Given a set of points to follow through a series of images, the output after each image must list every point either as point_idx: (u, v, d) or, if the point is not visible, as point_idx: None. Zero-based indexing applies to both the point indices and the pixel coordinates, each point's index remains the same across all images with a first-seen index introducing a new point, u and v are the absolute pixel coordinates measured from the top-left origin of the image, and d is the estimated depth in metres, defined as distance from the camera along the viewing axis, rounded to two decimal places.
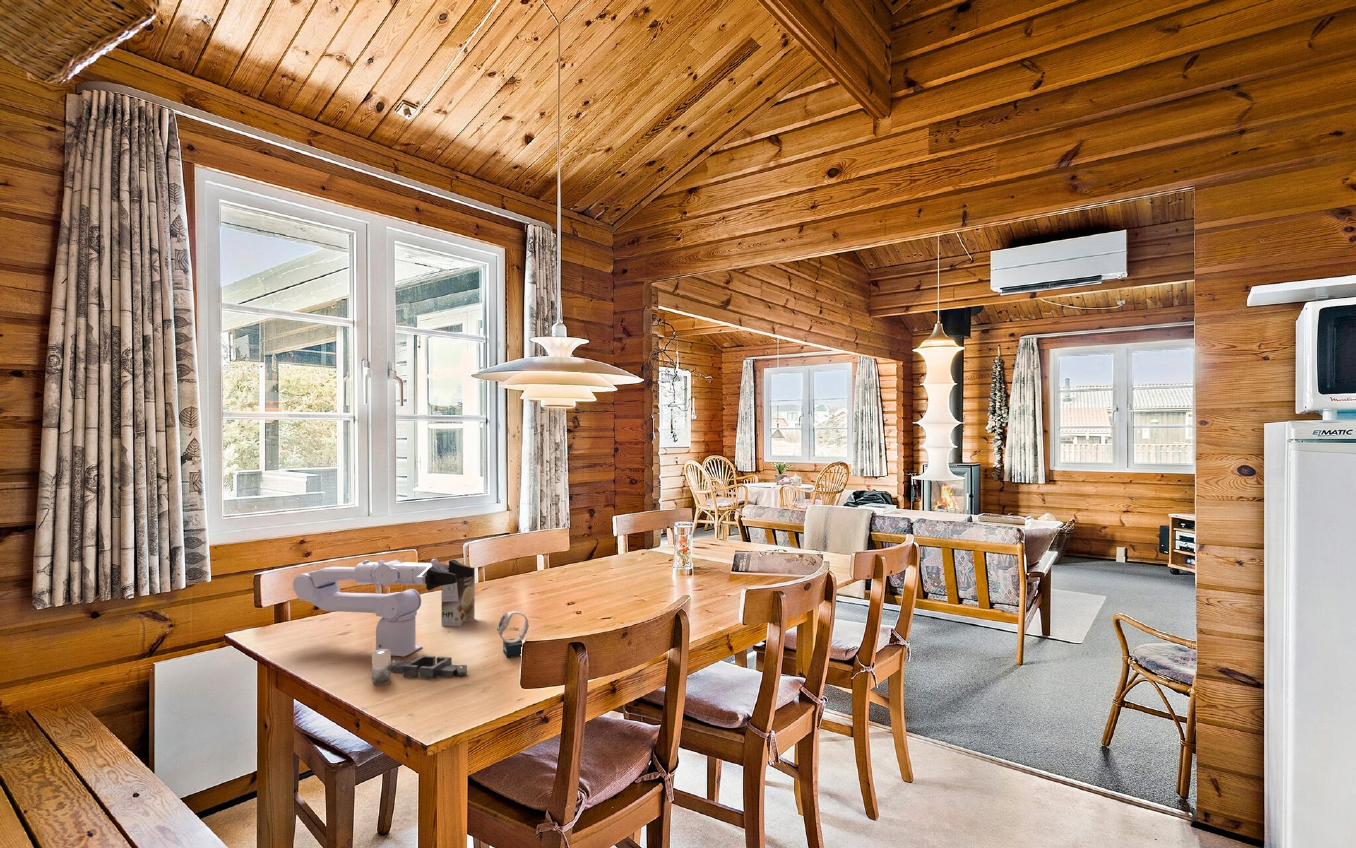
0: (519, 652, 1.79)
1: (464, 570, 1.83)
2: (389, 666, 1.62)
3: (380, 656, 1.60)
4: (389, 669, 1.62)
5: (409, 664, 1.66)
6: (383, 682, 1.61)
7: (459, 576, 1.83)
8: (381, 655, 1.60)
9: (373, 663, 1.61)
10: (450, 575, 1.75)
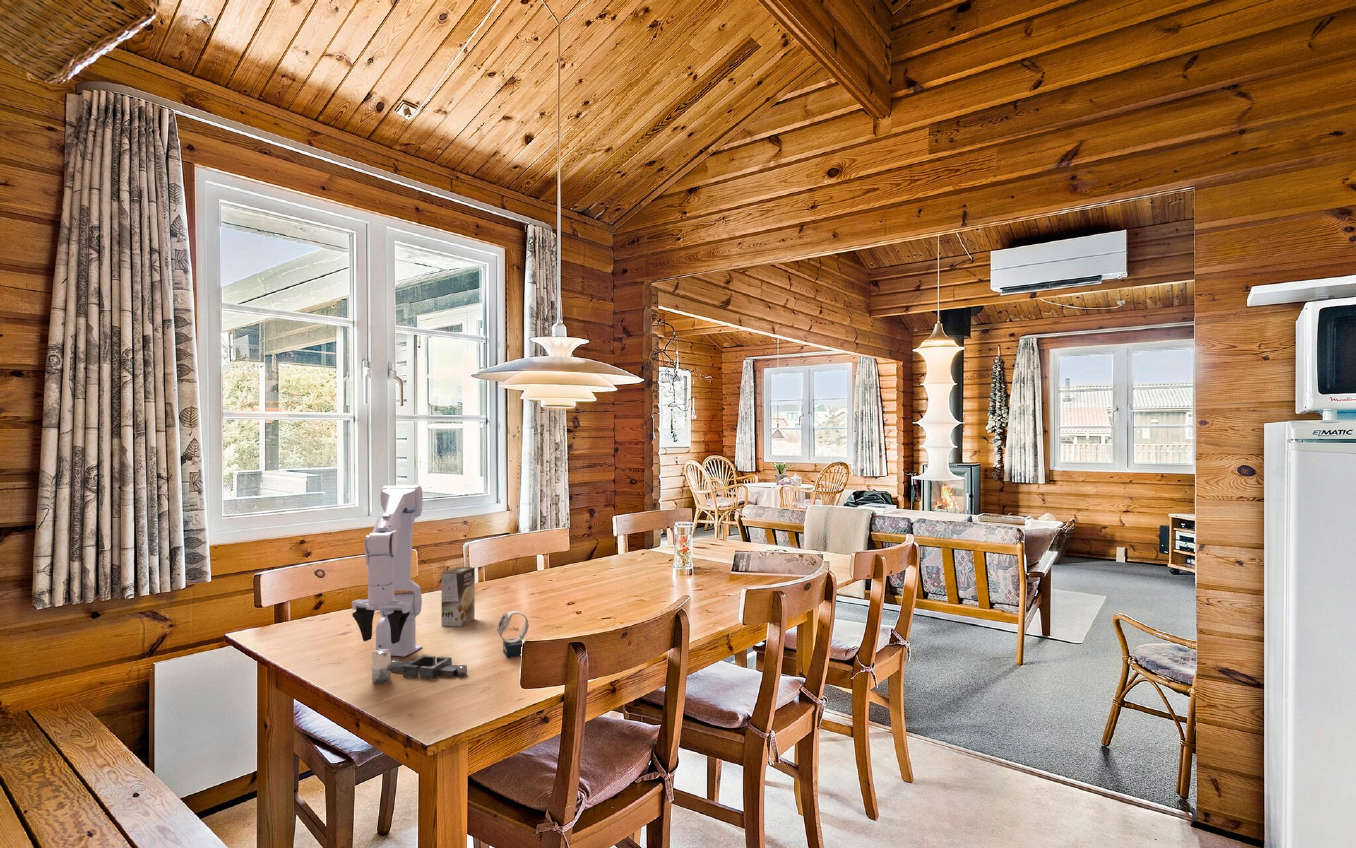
0: (519, 652, 1.79)
1: None
2: (389, 666, 1.62)
3: (380, 656, 1.60)
4: (389, 669, 1.62)
5: (409, 664, 1.66)
6: (383, 682, 1.61)
7: None
8: (381, 655, 1.60)
9: (373, 663, 1.61)
10: None
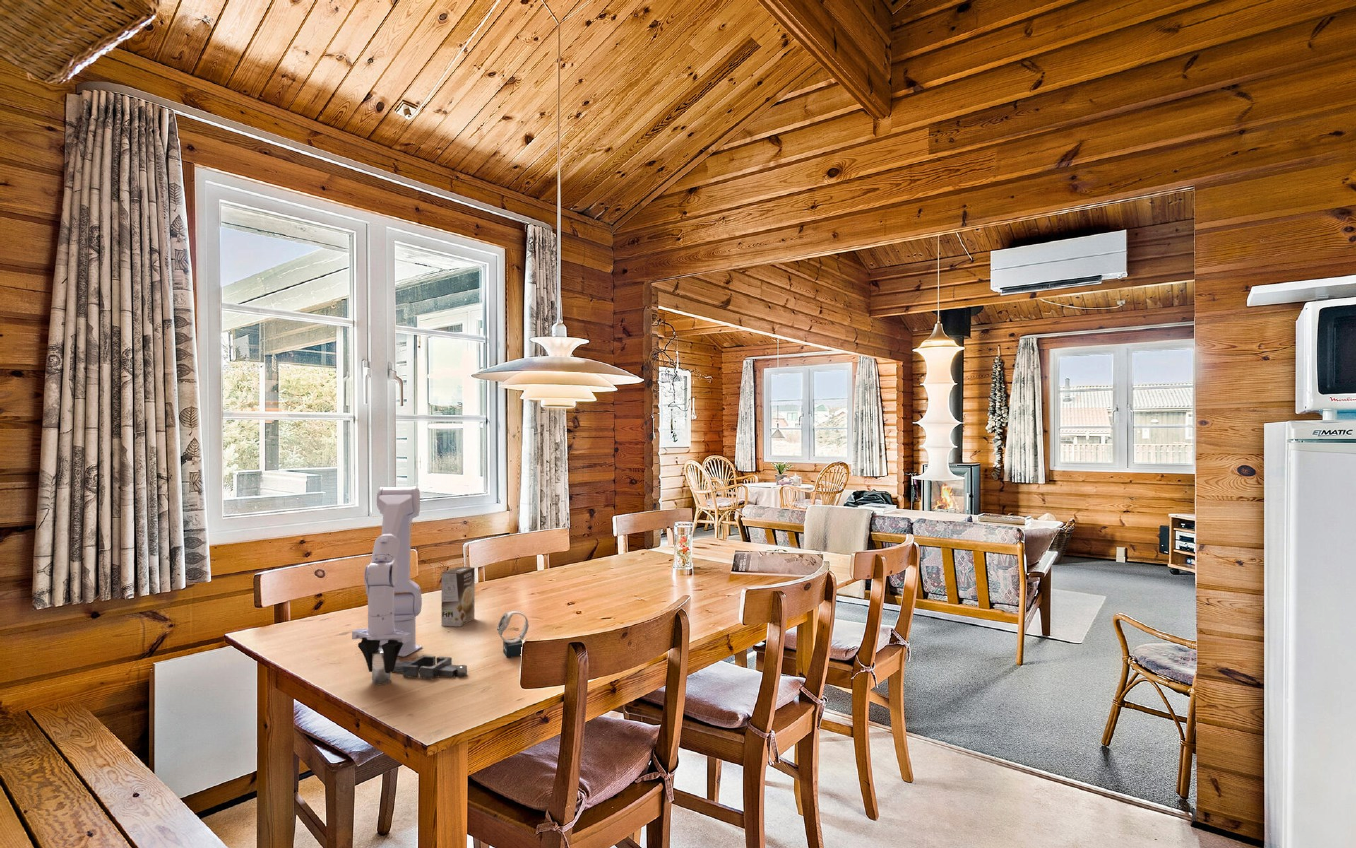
0: (519, 652, 1.79)
1: None
2: None
3: (380, 656, 1.60)
4: None
5: (409, 664, 1.66)
6: (383, 682, 1.61)
7: None
8: (381, 655, 1.60)
9: (373, 663, 1.61)
10: None
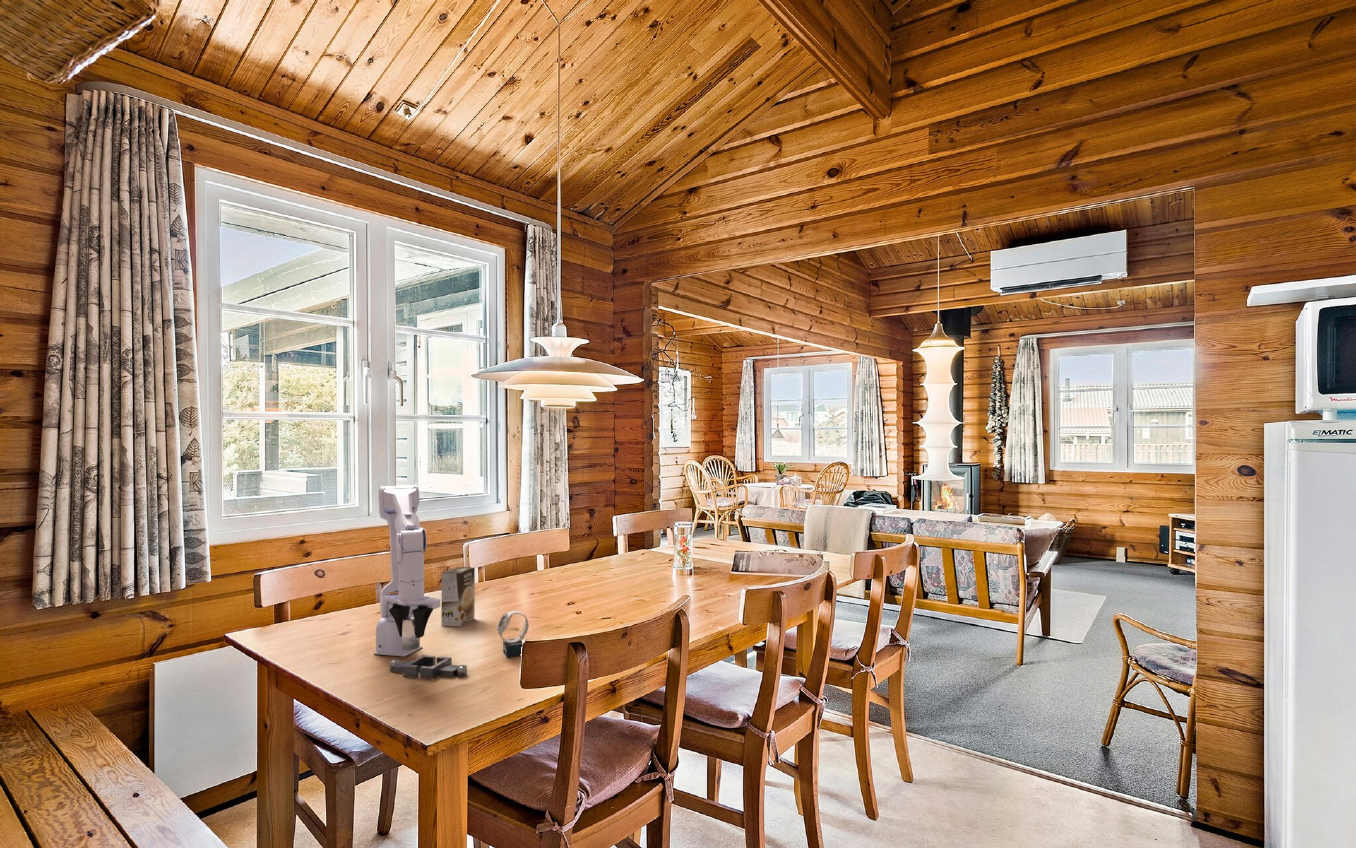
0: (519, 652, 1.79)
1: None
2: None
3: (409, 622, 1.64)
4: None
5: (409, 664, 1.66)
6: (412, 648, 1.64)
7: None
8: (410, 621, 1.64)
9: (403, 629, 1.65)
10: None
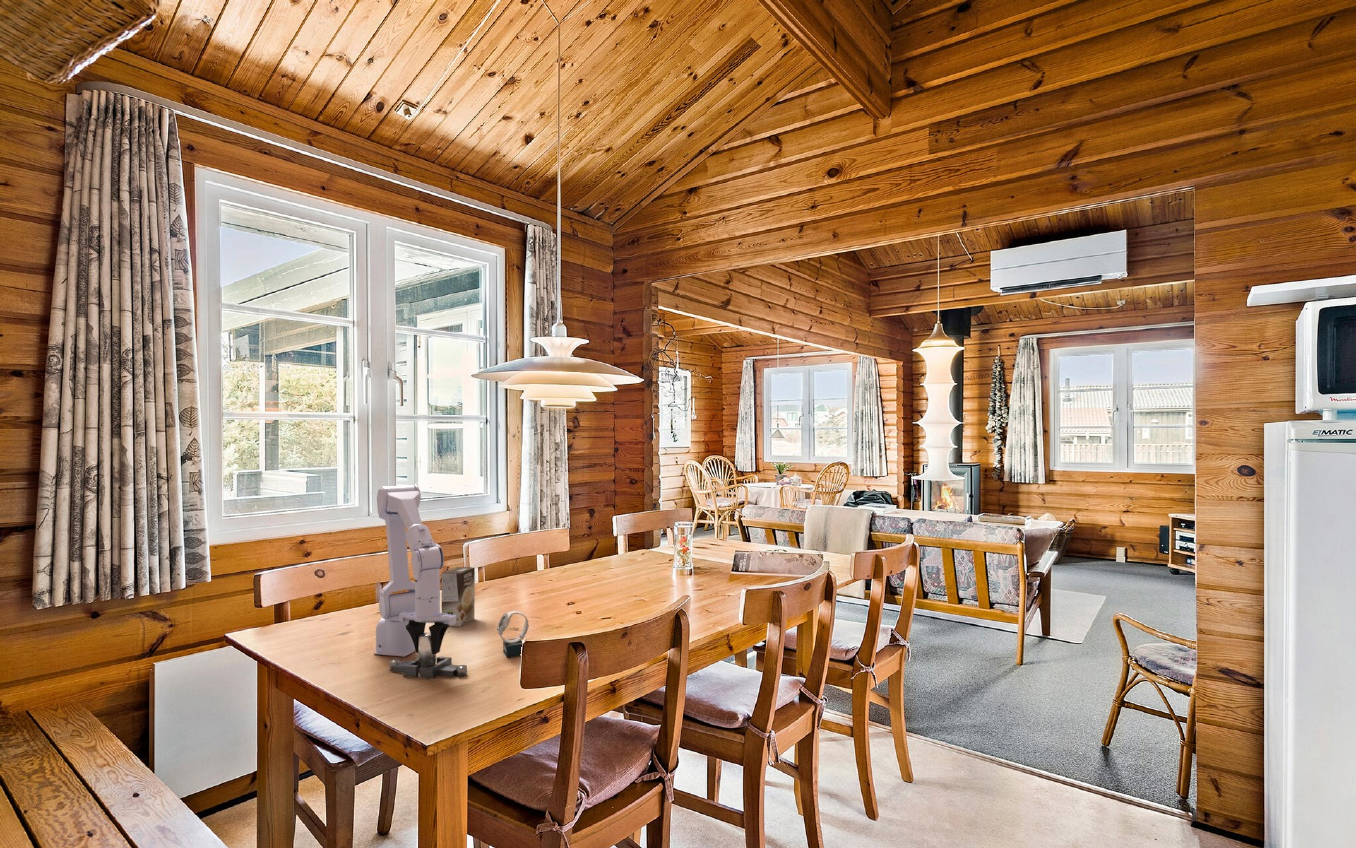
0: (519, 652, 1.79)
1: None
2: None
3: (425, 638, 1.66)
4: None
5: (409, 664, 1.66)
6: (428, 664, 1.66)
7: None
8: (426, 638, 1.66)
9: (419, 645, 1.67)
10: None
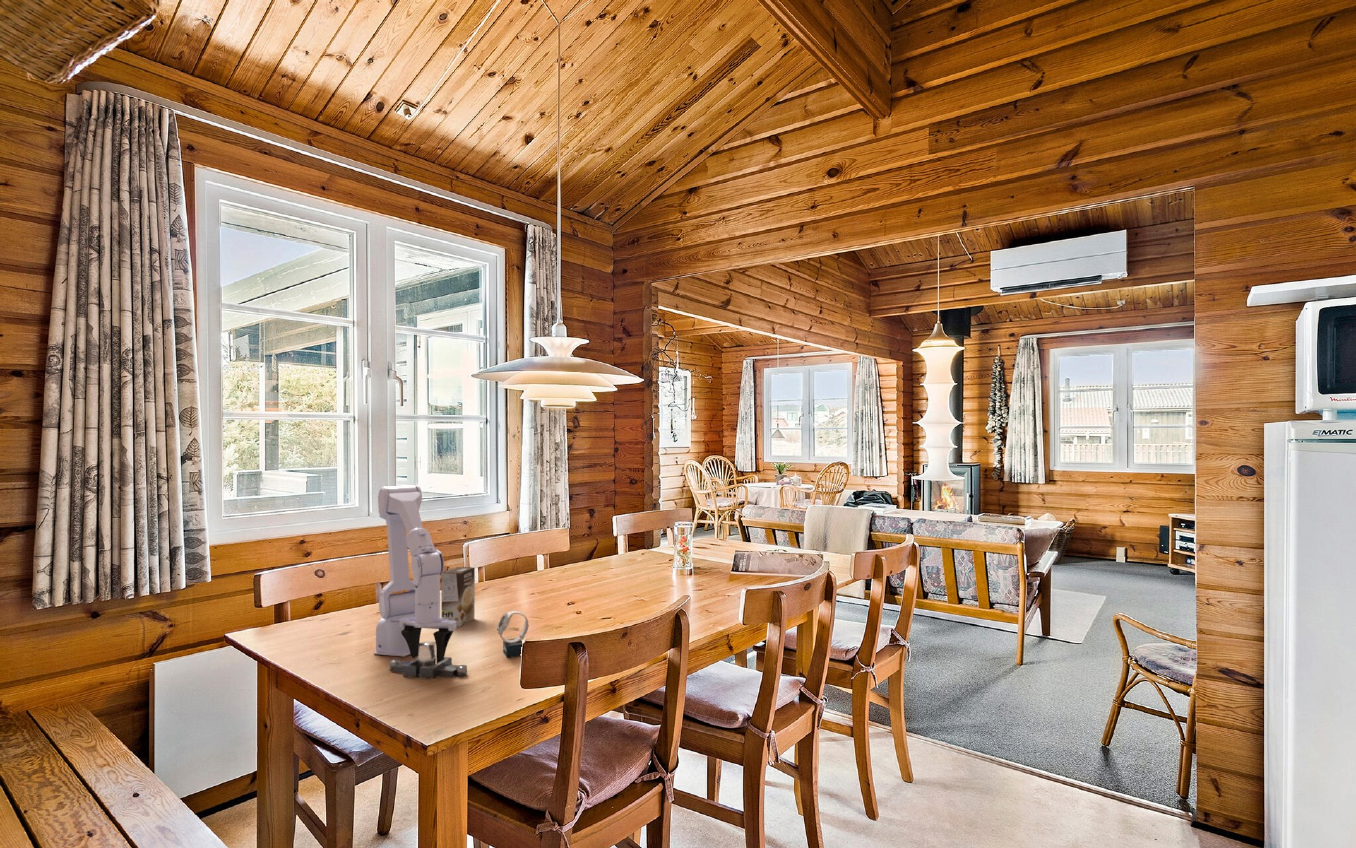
0: (519, 652, 1.79)
1: None
2: (434, 658, 1.68)
3: (425, 647, 1.66)
4: (434, 661, 1.68)
5: (409, 664, 1.66)
6: None
7: None
8: (426, 647, 1.66)
9: (419, 654, 1.67)
10: None
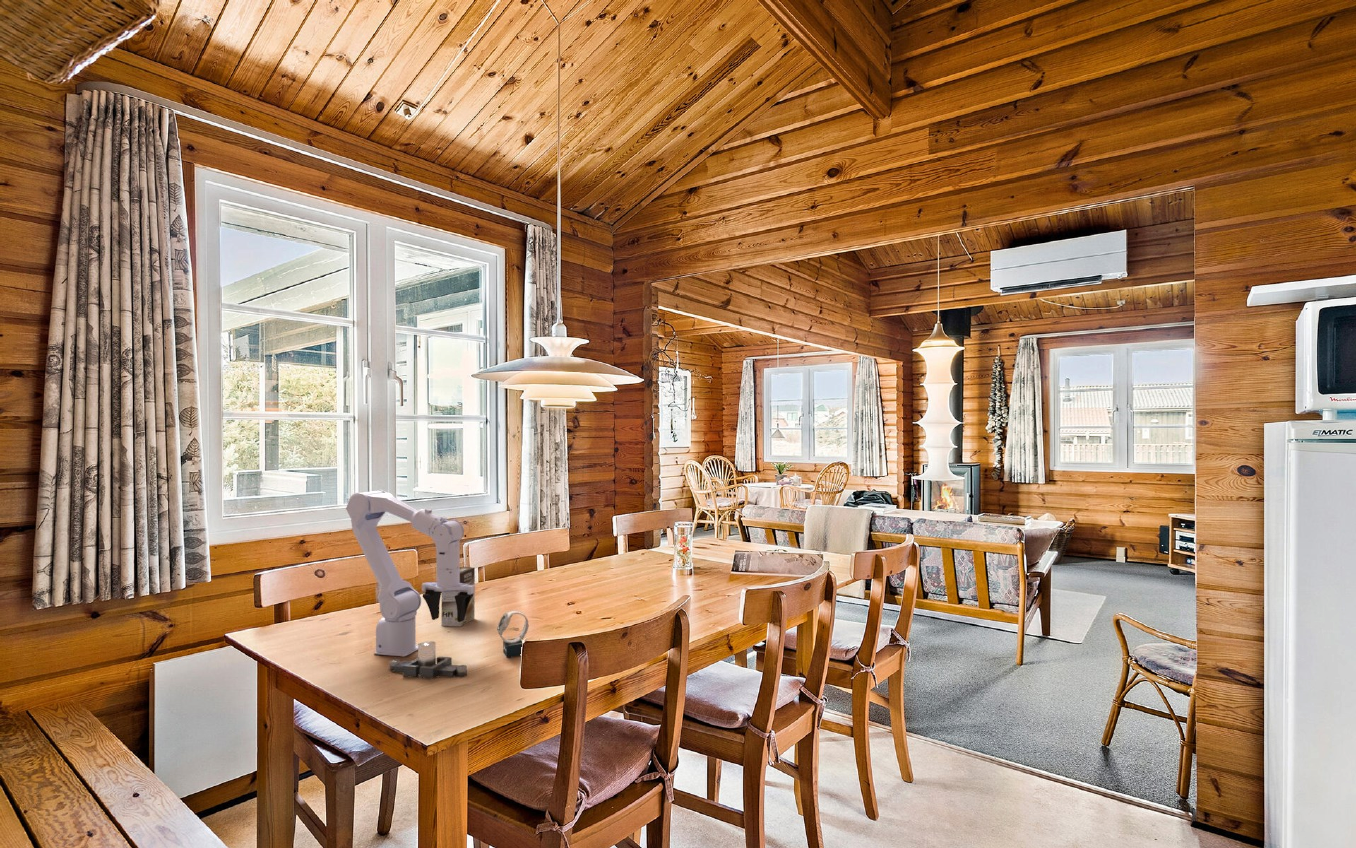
0: (519, 652, 1.79)
1: None
2: (434, 658, 1.68)
3: (425, 647, 1.66)
4: (434, 661, 1.68)
5: (409, 664, 1.66)
6: None
7: None
8: (426, 647, 1.66)
9: (419, 654, 1.67)
10: None
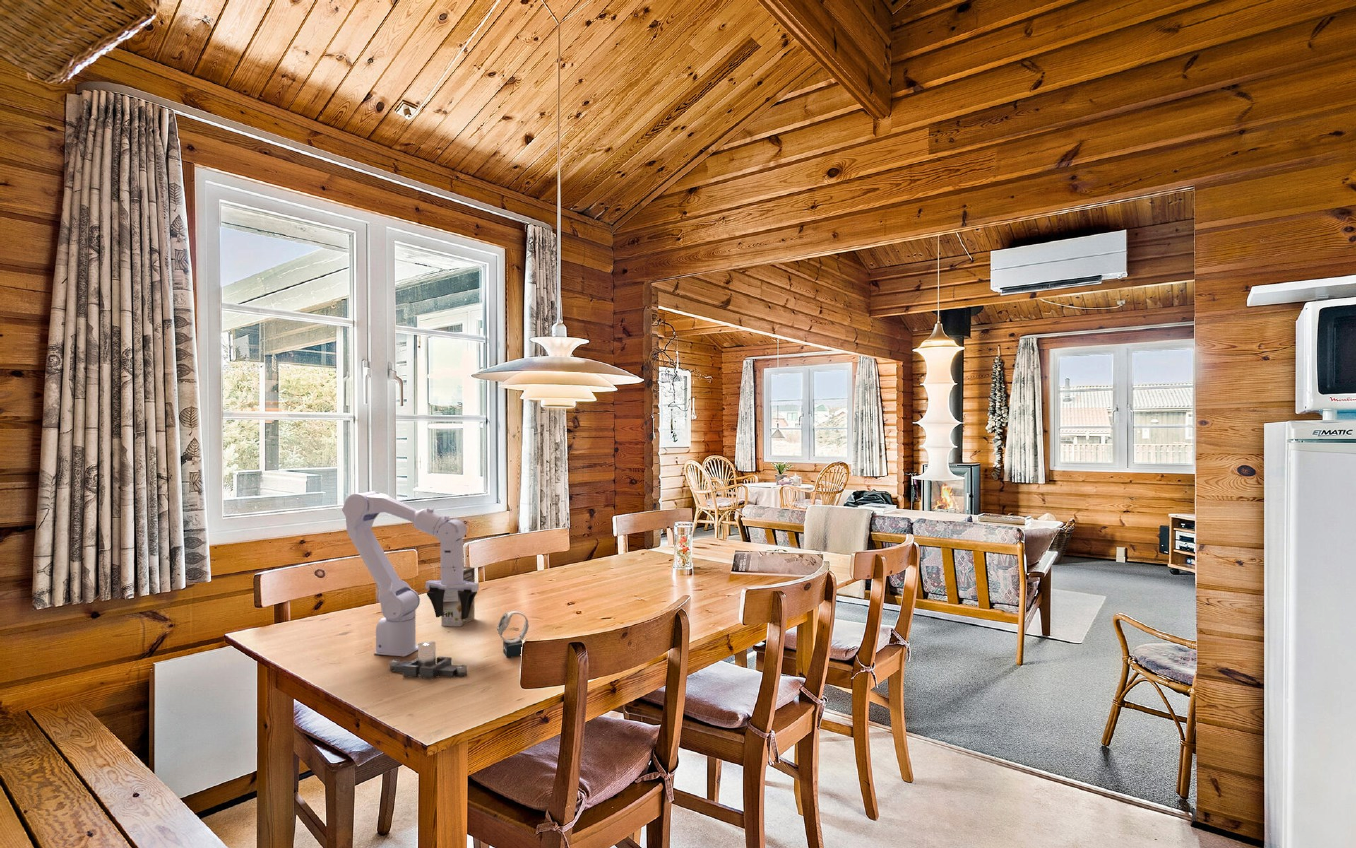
0: (519, 652, 1.79)
1: None
2: (434, 658, 1.68)
3: (425, 647, 1.66)
4: (434, 661, 1.68)
5: (409, 664, 1.66)
6: None
7: None
8: (426, 647, 1.66)
9: (419, 654, 1.67)
10: None
